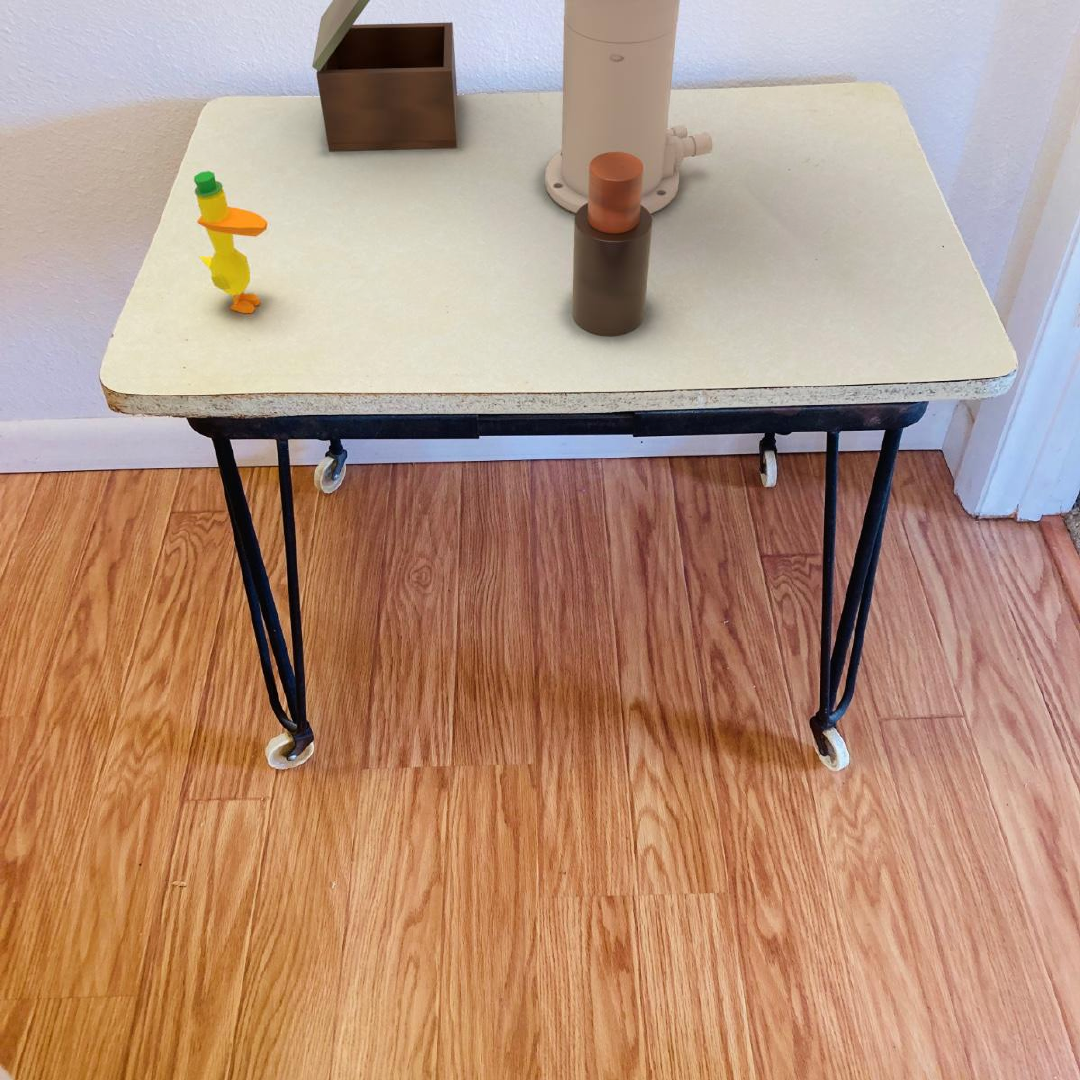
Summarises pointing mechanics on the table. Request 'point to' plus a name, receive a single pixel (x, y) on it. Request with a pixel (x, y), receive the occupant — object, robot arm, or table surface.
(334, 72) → the brown wooden open box
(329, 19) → the lid
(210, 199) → the toy figure
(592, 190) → the peg
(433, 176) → the table surface
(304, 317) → the table surface
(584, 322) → the peg stand
